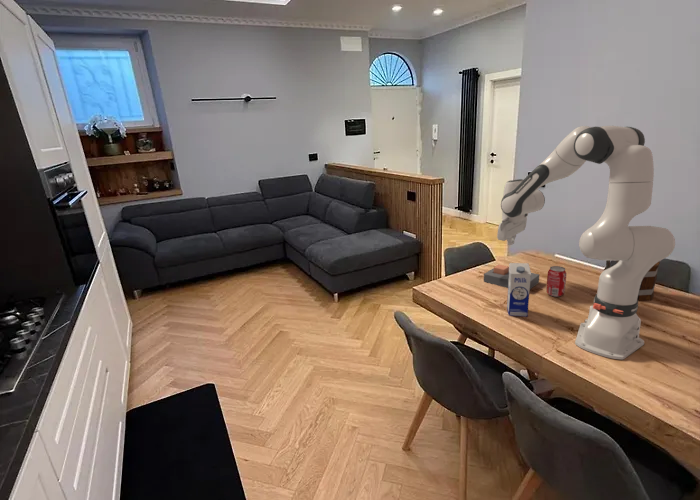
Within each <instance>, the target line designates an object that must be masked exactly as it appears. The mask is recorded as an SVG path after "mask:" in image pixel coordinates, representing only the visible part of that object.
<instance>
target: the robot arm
mask: <svg viewBox="0 0 700 500" xmlns="http://www.w3.org/2000/svg"><path fill="white" fill-rule="evenodd" d="M645 140H646V139H645V135H644V134H643V132H642V131H641V130H640V129H639V128H636V127H632V126H618V125H603V126H587V125H581V126H578V127H576V128H574V129H573V130H572V131H570V132H569V133H568V134H567V135H566V136H565V137H564V138H563V139H562V140H560V141H561V142H559V143H558V144H557V146H556V147H555V148H554V149H553V151H552V152H551V153H550V154H549V155H548V156H547V157H546V158H545V159H544V160H543V161H542V162H541V163H539V165H537V166H536V167H535V168H534V169H533V170H531V172H529V173H528V175H527V176H526V177H525V178H524V179H522V178H520V179H519V178H518V179H512V180H508V181H506V182H505V185H504V189H503V197H502V199H501V202H500V208H501V211H502V212H501V215H502V216H501V222H500V223H499V225H498V228H497V233H496V234H497V235H496V238H497V239H498V241H503V242H505V241H507V245H508V246H513V245H514V244H515V241H516V237H517V235H518V234H520V233H522V232H524V231H525V230H526V227H527V221H528V217H529V214H531V213H534V212H538V211H541V210H542V209H543V208H544V206H545V203H546V197H545V195H544V193H543V192H542V191H541V189H540V188H541V187H543V186H545V185H547V184H550V183H553V182H555V181H558V180H563V179H565V178H568V177H569V176H571V175H573V174H575V172H577V171H578V170H579V169H580V168H581V167H582V166H583V165H584V164H585V163H586V162H590V163H594V164H598V165H602V164H603V163H605V164H606V165H607V167H609V178H608V190H607V197H606V198H607V199H606V204H605V207H604V210H603V212H602V214H601V215H600V217H599V219H598V220H596V222H595V223H594V224H593V225H591V226H590V227H589V228H587V229H586V230H585V231H584V232H583V233H582V234H581V235H580V238H579V239H578V245H579V249H580V252H581V253H582V255H583V256H584V257H586V258H587V259H592V260H596V261H597V260H598V261H606V260H610V261H615V260H620V261H619V262H618V263H617V262H616V264H614V265H613V266H610V268H608V269H606V268H605V269H604V270H603V271H602V272H601V273H600V275H599V278H598V285H597V292H596V293H595V296H594V298H593V303H592V305H590V306H589V313H588V316H587V319H586V318H585V319H584V322H580V325H579V328H578V332H577V334H576V337H575V341H574V344H575V345H576V346H577V347H579V348H580V349H583V350H585V351H587V352H590V353H592V354H594V355H598V356H601V357H605V358H608V359H615V360H621V361H622V360H625V359H626V358H627V357H629V356H631V355H632V354H634V353H635V352H636V351H637V350H638V349H640V348H642V346H644V345H645V340H644V339H642V338H641V337H640V329H641V323H642V320H641V319H642V318H640V317H639V316H638V314H637V311H638V309H639V301H638V300H637V298H638V293H639V289H640V285H641V282H642V279H643V278H644V276H645V275H646V273H647V272H648V271H649V270H650V268H651V267H653V266H654V265H655V264H656V263H657V262H659V261H660V262H661V261H662V260H664V259H666V258H668V257H669V256H670V255H671V254H672V253H673V251H674V249H675V247H676V238H675V237H674V234H673V233H672V231H670V229H668V228H666V227H660V226H652V225H629V224H630V222H631V221H632V220H633V219H634V217H635V218H636V216H638V215H640V214H643V213H645V212H646V211H647V210H648V209H649V208H650V206H651V204H652V197H653V196H652V195H653V186H654V177H655V175H654V170H655V168H654V157H653V152H652V150H651V149H650V148H649V147H647V146H645V142H646V141H645ZM539 189H540V190H539Z"/></svg>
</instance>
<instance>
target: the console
mask: <svg viewBox="0 0 700 500" xmlns="http://www.w3.org/2000/svg"><path fill="white" fill-rule="evenodd" d="M540 276H541V275H540V273H539V274H537V273H534V272H531V277H530V290H531V289H533V288H534V287H535V286H537V285H538V284H539V283H540ZM508 281H509V272H508V273H507V274H505V275H501V274H497V273H494V267H492V268H491V269H489V270H488V271H487V272H484V273H483V283H487V284H491V285H495V286H498V287H499V286H500V287H502V288H506V289H508Z"/></svg>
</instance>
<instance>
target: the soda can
mask: <svg viewBox="0 0 700 500" xmlns="http://www.w3.org/2000/svg"><path fill="white" fill-rule="evenodd" d="M566 285H567V271H566V268H565V267H563V266H561V265H559V266H558V265H551V266H550V267H549V269H548V270H547V276H546V287H545V288H546V289H545V290H546V293H547V294H548V295H549V296H550V297H556V298H559V297H561V296H564V295H565V291H566Z"/></svg>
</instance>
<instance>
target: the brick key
mask: <svg viewBox="0 0 700 500" xmlns="http://www.w3.org/2000/svg"><path fill="white" fill-rule="evenodd" d="M493 268H494V273H497V274H501V275H505V274H507V273H508V272H509V266H507V265H505V264H504V265H503V264H497V265H496V266H493Z"/></svg>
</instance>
